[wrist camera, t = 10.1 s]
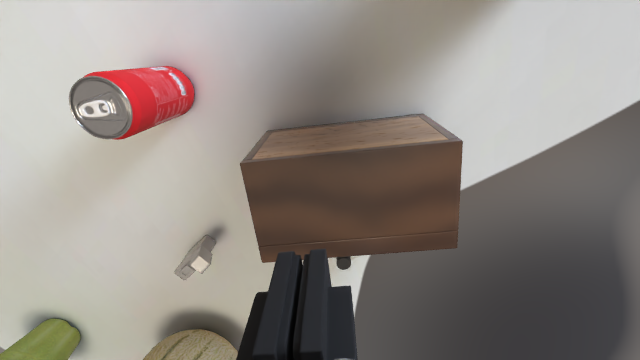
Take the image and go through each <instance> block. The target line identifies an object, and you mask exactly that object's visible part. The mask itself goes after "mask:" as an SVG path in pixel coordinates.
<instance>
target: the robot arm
mask: <svg viewBox="0 0 640 360" xmlns="http://www.w3.org/2000/svg"><path fill="white" fill-rule="evenodd" d="M236 360H357V348H356V336H355V324H354V313H353V303H352V293H351V286H339V287H331V280H330V273H329V265H328V258H327V251H326V249H314V250H310V254H305V255H304V262H303V264H302V259H301V255H296V254H295V252H294V251H289V252H279V253H278V255H277V259H276V263H275V267H274V271H273V275H272V278H271V282H270V286H269V290H268V292H258V293H257V294H256V296H255V299H254V302H253V305H252V309H251V312H250V315H249V318H248V322H247V325H246V328H245V332H244V335H243V338H242V342H241V345H240V348H239V352H238V355H237V358H236Z"/></svg>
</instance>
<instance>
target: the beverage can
mask: <svg viewBox="0 0 640 360" xmlns="http://www.w3.org/2000/svg"><path fill="white" fill-rule="evenodd" d="M194 95H195V92H194V87H193V85H192V83H191V81H190V80H189V78H188V77H187V76H186V75H185V74H183V73H182V72H181V71H179V70H178V69H176V68H173V67H169V66H161V67H149V68H137V69H125V70H113V71H102V72H93V73H90V74H87V75H86V76H84V77H83V78H81V79H79V80H78V81H77V82H76V83H75V84H74V85H73V86H72V88H71V91H70V94H69V105H70V109H71V112H72V114H73V116H74V118H75V120H76V121H77V122H78V124H79V125H80V126H81V127H82V128H83V129H84V130H86V131H87V132H88V133H90V134H91V135H93V136H95V137H98V138H102V139H115V140H118V139H124V138H127V137H130V136H132V135H135V134H137V133H139V132H142V131H144V130H147V129H149V128H151V127H154V126H156V125H159V124H161V123H164V122H166V121H168V120H171V119H173V118H176V117H178V116H180V115H183V114H185V113H186V112H187V111H188V110H189V109H190V108H191V106H192V104H193V101H194Z"/></svg>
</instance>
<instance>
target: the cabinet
mask: <svg viewBox="0 0 640 360" xmlns="http://www.w3.org/2000/svg"><path fill="white" fill-rule="evenodd" d="M462 145H463V141H462V140H461V139H459V138H458V137H457V136H455V135H454V134H452V133H451V132H449V131H448V130H446V129H445V128H443V127H442V126H441V125H439V124H438V123H436V122H435V121H433V120H432V119H430V118H429V117H427V116H426V115H424V114H417V115H408V116H398V117H389V118H380V119H371V120H362V121H353V122H344V123H334V124H325V125H316V126H307V127H298V128H289V129H280V130H270V131H267V132H266V133H265V134H264V135H263V136H262V138H261V139H260V140H259V141H258V142H257V144H256V145H255V146H254V147H253V148H252V150H251V151H250V152H249V153H248V154H247V156H246V157H245V158H244V159H243V161H242V162H241V163H240V166H241V171H242V175H243V180H244V184H245V189H246V193H247V197H248V202H249V206H250V211H251V215H252V220H253V224H254V229H255V233H256V237H257V242H258V246H259V251H260V255H261V260H262V263H266V262H276V259H277V255H278V253H279V252H289V251H294V252H295V254H296V255H301V259H302V260H304V255H305V254H310V250H314V249H326V251H327V258H332V257H345V256H359V255H372V254H385V253H398V252H412V251H425V250H439V249H451V248H457V242H458V221H459V204H460V184H461V165H462Z"/></svg>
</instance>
